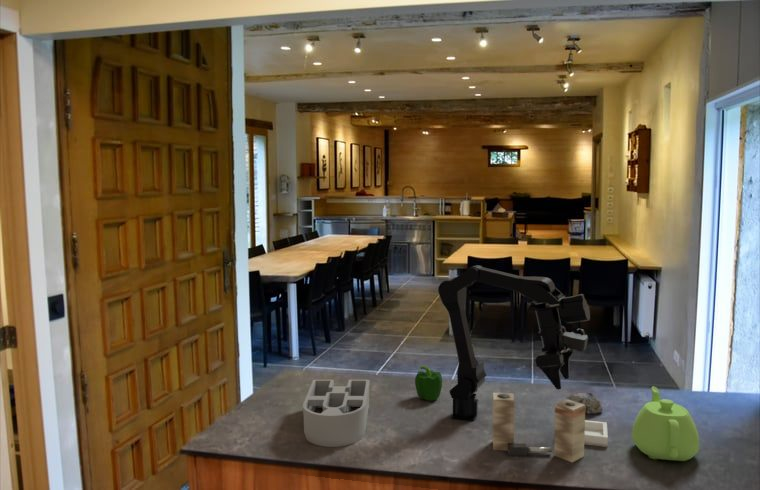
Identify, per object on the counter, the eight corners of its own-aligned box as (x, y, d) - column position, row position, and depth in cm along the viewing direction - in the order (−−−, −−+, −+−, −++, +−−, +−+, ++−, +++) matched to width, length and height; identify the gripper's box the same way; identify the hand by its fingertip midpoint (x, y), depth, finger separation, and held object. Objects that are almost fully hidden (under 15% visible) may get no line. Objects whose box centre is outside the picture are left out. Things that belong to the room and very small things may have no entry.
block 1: (493, 449, 157) (493, 399, 156) (492, 441, 162) (493, 392, 161) (513, 450, 157) (514, 400, 155) (512, 442, 162) (513, 393, 160)
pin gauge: (508, 455, 154) (508, 447, 154) (507, 451, 156) (507, 443, 156) (552, 456, 153) (552, 447, 153) (550, 452, 156) (550, 443, 155)
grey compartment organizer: (369, 407, 187) (369, 379, 186) (364, 448, 160) (364, 415, 159) (313, 407, 188) (313, 379, 187) (298, 448, 160) (298, 415, 159)
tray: (557, 441, 162) (558, 431, 162) (559, 426, 172) (559, 417, 171) (607, 446, 158) (607, 437, 158) (606, 431, 168) (606, 422, 168)
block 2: (553, 455, 154) (555, 403, 152) (566, 449, 157) (567, 398, 156) (572, 462, 150) (573, 409, 149) (584, 456, 153) (585, 404, 152)
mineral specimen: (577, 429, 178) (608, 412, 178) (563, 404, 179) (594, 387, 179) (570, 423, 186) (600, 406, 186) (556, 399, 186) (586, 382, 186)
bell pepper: (448, 397, 194) (448, 365, 193) (432, 405, 188) (432, 372, 187) (426, 391, 200) (426, 360, 199) (410, 398, 194) (409, 367, 193)
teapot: (622, 430, 168) (624, 383, 167) (683, 434, 166) (685, 386, 164) (640, 468, 147) (642, 414, 145) (710, 473, 144) (713, 418, 143)
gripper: (573, 329, 153) (587, 392, 153) (587, 314, 169) (600, 371, 169) (528, 335, 159) (542, 396, 159) (547, 319, 175) (559, 374, 175)
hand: (563, 383), depth 165 cm, fingers open, 9 cm apart
